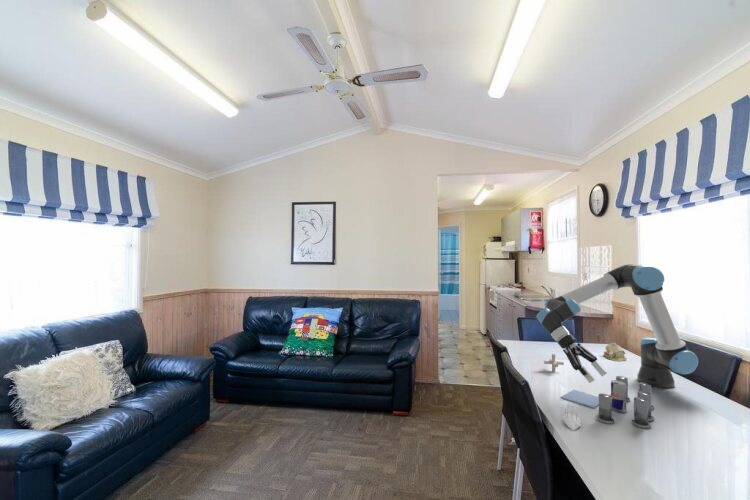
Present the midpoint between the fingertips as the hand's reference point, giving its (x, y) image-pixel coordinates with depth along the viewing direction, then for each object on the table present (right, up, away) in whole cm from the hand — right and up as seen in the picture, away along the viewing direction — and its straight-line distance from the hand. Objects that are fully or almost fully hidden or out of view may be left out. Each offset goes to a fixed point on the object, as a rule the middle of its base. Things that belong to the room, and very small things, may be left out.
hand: (598, 378), depth 152 cm
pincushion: (-22, -12, -17) cm, 30 cm away
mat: (-3, -12, +6) cm, 14 cm away
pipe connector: (+2, -13, +43) cm, 45 cm away
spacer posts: (+7, -12, -9) cm, 16 cm away
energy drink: (+5, -12, -6) cm, 14 cm away
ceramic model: (+55, -13, +68) cm, 88 cm away
